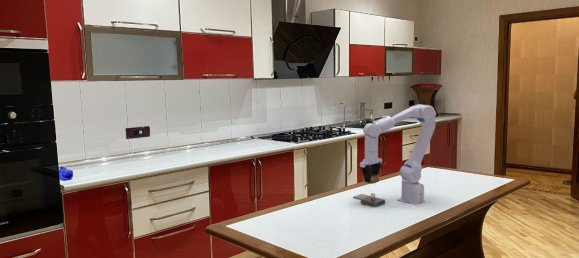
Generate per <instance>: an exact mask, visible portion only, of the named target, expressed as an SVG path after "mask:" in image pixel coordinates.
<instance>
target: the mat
mask: <svg viewBox="0 0 579 258" xmlns="http://www.w3.org/2000/svg"><path fill="white" fill-rule="evenodd" d="M369 196H370V195H369V194H368V195H367V194H364V193H360V194H357V195H354V196H352V199H355V200H360V201H361V199H363V198H366V197H369Z"/></svg>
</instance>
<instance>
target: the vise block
mask: <svg viewBox="0 0 579 258" xmlns="http://www.w3.org/2000/svg"><path fill="white" fill-rule="evenodd" d="M360 204H361V205H364V206H369V207H374V208H378V207H380V206H383V205H385V204H386V199H384V198H381V197H376V193H373V192H372V193H371V192H370V195H369V197H366V198H363V199H361V200H360Z"/></svg>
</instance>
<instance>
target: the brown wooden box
mask: <svg viewBox="0 0 579 258" xmlns="http://www.w3.org/2000/svg"><path fill="white" fill-rule="evenodd" d="M362 182H363V183H365V184H366V183H367V184H372V185H374V184H376V183H379V182H380V174H378V175H375V174H371V178H370V182H365V179H364V175H362Z"/></svg>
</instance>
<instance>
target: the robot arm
mask: <svg viewBox="0 0 579 258" xmlns="http://www.w3.org/2000/svg"><path fill="white" fill-rule="evenodd" d="M436 115H437V112H436V110H435V108H434V107H433V106H432V105H429V104H421V103H419V104H415V105H412V106H410V107H408V108H405V110H403V111H400V112H398V113H397V114H395V115H393V116H389V115H382V118H380V119H377V120H373V121H372V122H371V123H366V124H365V126H364V127H363V129H362V131H363V134H364V158H363V159H362V161H361V162H360V163H359V168H360V170H361V172H362V174H363V175H364V179H365V182H364V183H366V182H370V178H371V174H375V175H379V173H380V170H381V168H382V167H383V164H382V162H383V159H382V158H380V157H379V136H380V134H382V133H384V132H387V131H389V130H391V129H393V128H394V127H395V124H397V123H400V122H402V121H405V120H408V119H410V118H415V119H416V120H418V122H419V123H420V125H421V129H420V131H419V134H418V136H417V137H416V138H417V139H416V141H415V142H414V145H413V148H412V151H411V152H410V156H409V158H408V159H407V160H406V161H405V162H404V163H403V166H401V167H400V169H399V176H400V177H401V194H400V195H401V197H400V198H398V199H397V201H398V202H403V203H408V204H412V205H418V204H420V203H423V202H425V186H424V184H423V183H420V182H419V181H420V180H421V178H422V170H423V167H422V162H423V160H424V159H423V158H424V156H425V154H426V152H427V149H428V146H429V145H430V141H431V139H432V137H433V134H434V132H435V129H436ZM363 175H362V176H363Z"/></svg>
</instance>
